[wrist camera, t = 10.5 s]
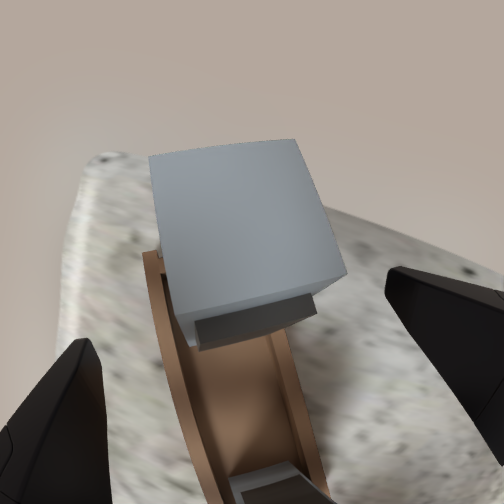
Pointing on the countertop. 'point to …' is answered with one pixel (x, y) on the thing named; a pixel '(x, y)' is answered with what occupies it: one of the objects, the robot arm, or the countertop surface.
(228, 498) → the walnut rail
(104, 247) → the countertop surface
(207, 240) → the slate finger
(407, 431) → the countertop surface
